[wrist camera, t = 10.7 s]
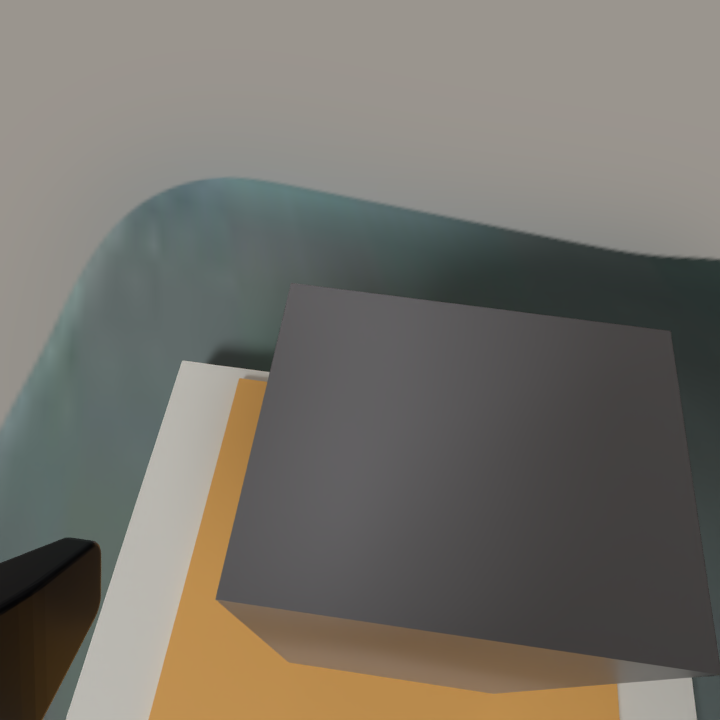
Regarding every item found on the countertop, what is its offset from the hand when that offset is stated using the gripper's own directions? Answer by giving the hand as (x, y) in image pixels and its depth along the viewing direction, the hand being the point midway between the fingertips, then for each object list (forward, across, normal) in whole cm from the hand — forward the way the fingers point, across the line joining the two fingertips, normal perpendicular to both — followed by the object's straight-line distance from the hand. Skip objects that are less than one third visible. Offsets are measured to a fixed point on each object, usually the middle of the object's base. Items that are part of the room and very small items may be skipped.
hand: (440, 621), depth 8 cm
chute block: (+7, 0, +5) cm, 8 cm away
